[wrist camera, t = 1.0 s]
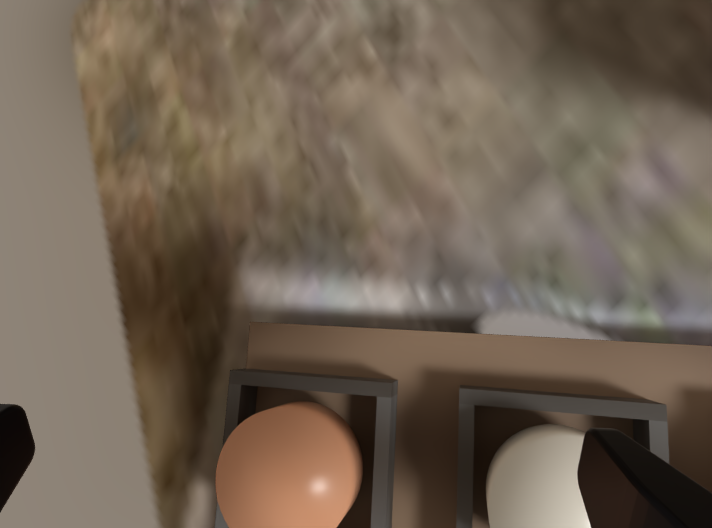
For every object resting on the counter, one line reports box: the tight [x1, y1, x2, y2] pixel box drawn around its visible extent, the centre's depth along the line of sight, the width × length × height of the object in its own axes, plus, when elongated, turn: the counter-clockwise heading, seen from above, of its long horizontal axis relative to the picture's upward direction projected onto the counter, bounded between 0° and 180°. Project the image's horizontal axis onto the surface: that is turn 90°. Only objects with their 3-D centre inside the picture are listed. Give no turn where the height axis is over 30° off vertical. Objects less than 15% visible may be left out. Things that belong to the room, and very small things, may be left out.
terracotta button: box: [216, 401, 363, 528], centre depth 16 cm, size 4×4×2 cm
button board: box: [215, 322, 712, 528], centre depth 16 cm, size 10×23×4 cm, turn 87°
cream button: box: [486, 424, 591, 528], centre depth 14 cm, size 4×4×2 cm
